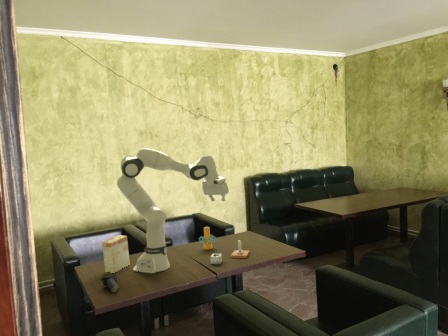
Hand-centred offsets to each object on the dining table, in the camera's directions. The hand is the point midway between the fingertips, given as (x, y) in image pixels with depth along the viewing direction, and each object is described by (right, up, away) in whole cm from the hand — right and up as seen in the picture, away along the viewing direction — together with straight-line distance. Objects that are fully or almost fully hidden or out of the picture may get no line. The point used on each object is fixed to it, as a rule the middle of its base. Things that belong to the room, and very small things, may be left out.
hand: (218, 201), depth 234 cm
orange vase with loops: (-7, -36, +25) cm, 44 cm away
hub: (-1, -38, -4) cm, 38 cm away
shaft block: (+14, -36, +6) cm, 39 cm away
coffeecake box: (-63, -43, -3) cm, 76 cm away
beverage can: (-57, -45, -33) cm, 80 cm away
